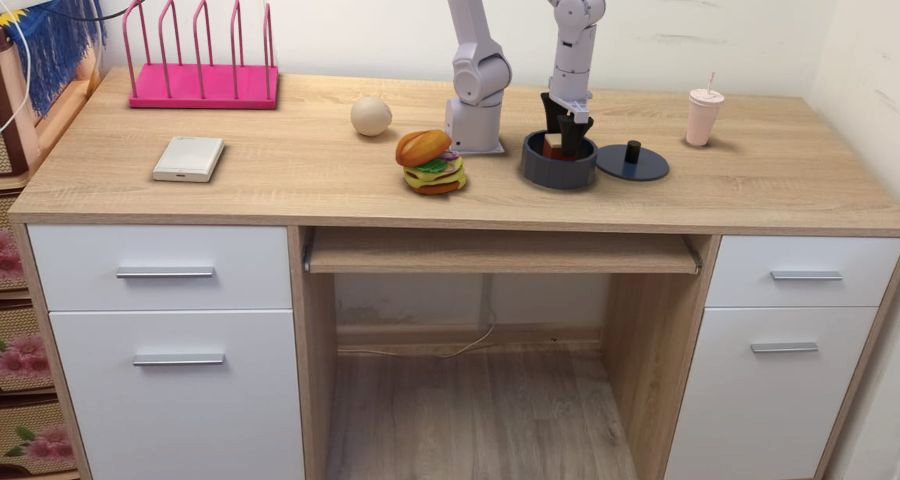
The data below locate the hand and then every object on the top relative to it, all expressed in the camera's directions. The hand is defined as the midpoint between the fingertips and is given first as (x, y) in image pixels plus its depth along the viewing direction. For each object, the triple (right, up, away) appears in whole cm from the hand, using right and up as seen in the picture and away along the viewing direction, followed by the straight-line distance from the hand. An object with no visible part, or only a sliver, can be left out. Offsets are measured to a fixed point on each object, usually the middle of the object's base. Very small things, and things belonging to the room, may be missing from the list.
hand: (561, 145), depth 138 cm
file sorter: (-65, +13, +19) cm, 69 cm away
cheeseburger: (-21, -7, -3) cm, 23 cm away
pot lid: (+13, -2, +8) cm, 15 cm away
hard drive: (-60, -4, -5) cm, 60 cm away
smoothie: (+27, +3, +19) cm, 33 cm away
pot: (-1, -4, +3) cm, 6 cm away
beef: (0, -4, +3) cm, 5 cm away
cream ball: (-33, +3, +10) cm, 35 cm away
